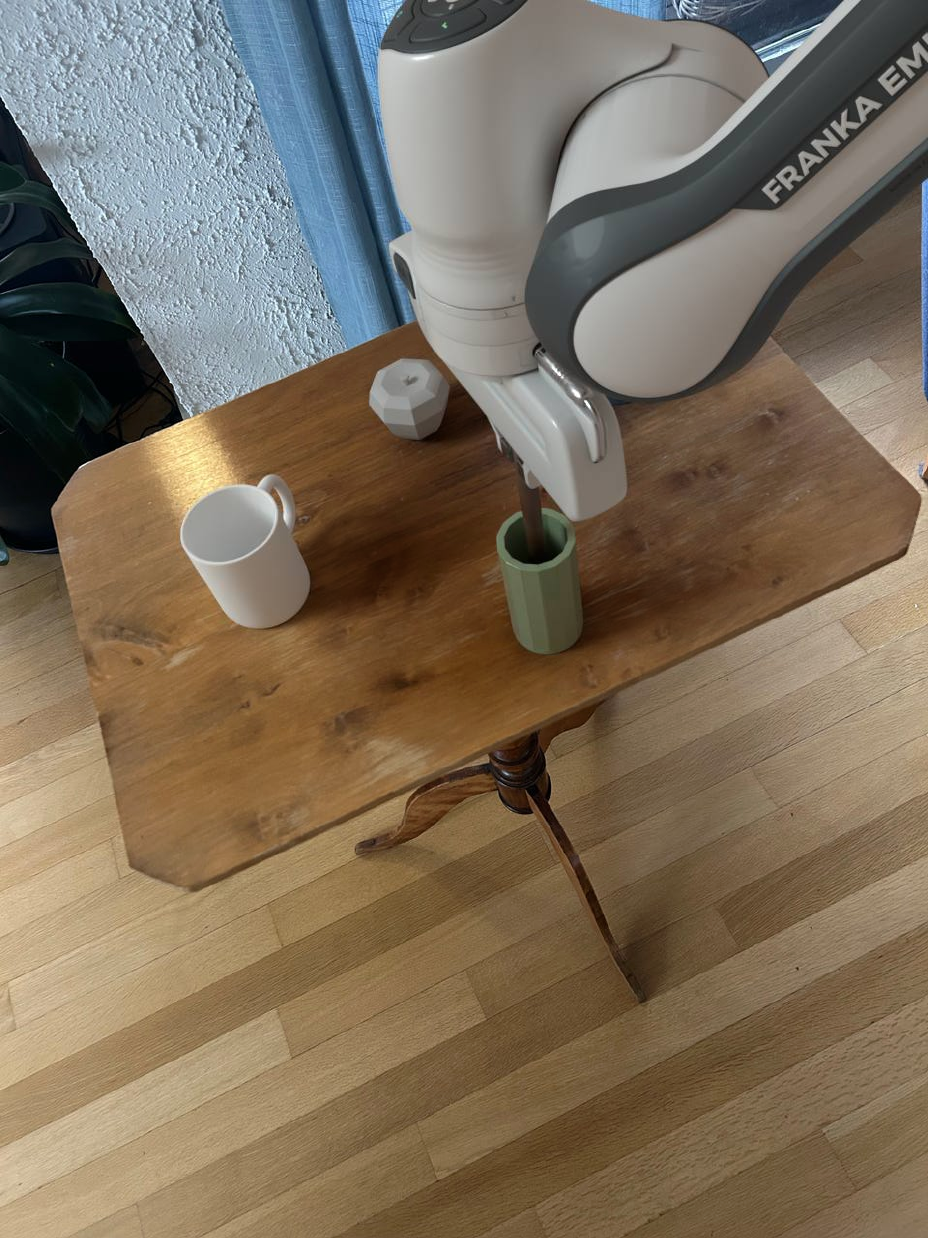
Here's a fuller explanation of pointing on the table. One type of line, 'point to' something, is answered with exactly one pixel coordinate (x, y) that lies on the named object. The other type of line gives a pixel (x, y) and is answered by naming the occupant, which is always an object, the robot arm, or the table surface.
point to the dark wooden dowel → (532, 519)
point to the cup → (248, 552)
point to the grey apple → (410, 398)
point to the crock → (542, 584)
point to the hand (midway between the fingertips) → (525, 465)
